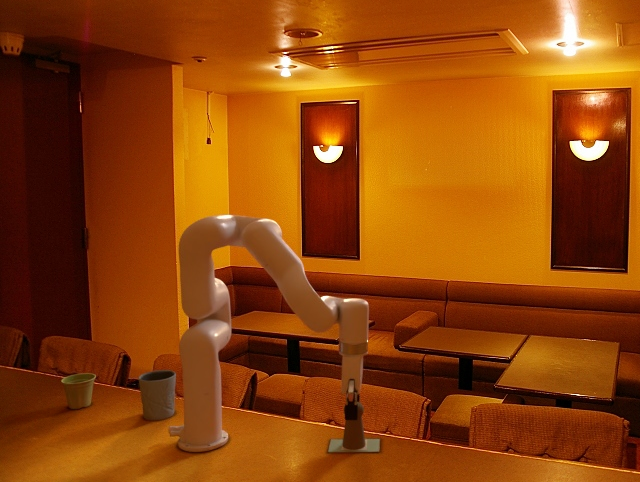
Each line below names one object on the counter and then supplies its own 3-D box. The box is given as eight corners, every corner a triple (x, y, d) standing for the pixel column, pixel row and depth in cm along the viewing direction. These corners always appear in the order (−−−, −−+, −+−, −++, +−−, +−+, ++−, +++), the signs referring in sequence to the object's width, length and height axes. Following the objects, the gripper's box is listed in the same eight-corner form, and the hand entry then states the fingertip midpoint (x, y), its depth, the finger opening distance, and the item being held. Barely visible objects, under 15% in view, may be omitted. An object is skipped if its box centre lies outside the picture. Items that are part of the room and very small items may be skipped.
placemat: (328, 452, 154) (328, 451, 154) (330, 439, 161) (330, 438, 161) (379, 452, 154) (379, 451, 154) (379, 439, 161) (379, 438, 161)
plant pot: (86, 411, 181) (85, 383, 181) (55, 411, 181) (54, 383, 181) (102, 400, 190) (101, 373, 190) (72, 400, 191) (71, 373, 190)
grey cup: (183, 413, 180) (183, 373, 179) (154, 424, 171) (153, 383, 171) (162, 406, 185) (161, 367, 185) (132, 417, 177) (131, 376, 176)
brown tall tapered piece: (362, 450, 154) (362, 408, 153) (339, 448, 155) (339, 406, 154) (368, 440, 160) (368, 400, 159) (346, 438, 161) (345, 398, 160)
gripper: (341, 338, 165) (340, 400, 166) (336, 356, 147) (334, 425, 148) (369, 338, 165) (367, 400, 166) (366, 357, 147) (365, 426, 148)
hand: (352, 412), depth 157 cm, fingers open, 9 cm apart
